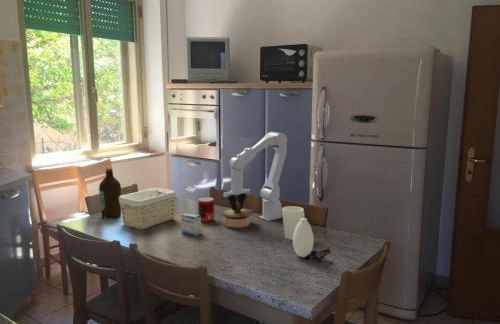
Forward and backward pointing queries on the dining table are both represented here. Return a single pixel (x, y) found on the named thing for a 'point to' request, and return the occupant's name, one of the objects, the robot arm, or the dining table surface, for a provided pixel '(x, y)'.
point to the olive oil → (110, 196)
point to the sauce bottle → (303, 238)
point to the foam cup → (291, 219)
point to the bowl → (237, 221)
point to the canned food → (206, 209)
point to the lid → (237, 212)
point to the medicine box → (191, 224)
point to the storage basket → (147, 207)
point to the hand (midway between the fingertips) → (237, 209)
